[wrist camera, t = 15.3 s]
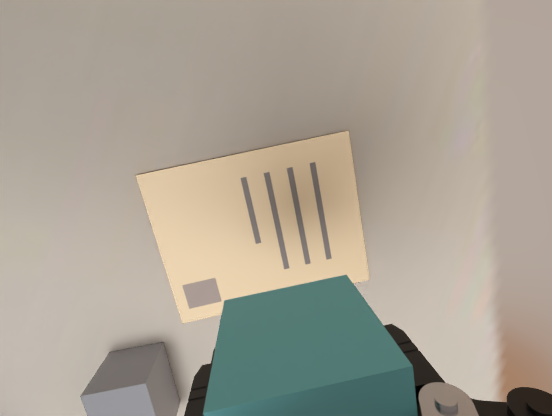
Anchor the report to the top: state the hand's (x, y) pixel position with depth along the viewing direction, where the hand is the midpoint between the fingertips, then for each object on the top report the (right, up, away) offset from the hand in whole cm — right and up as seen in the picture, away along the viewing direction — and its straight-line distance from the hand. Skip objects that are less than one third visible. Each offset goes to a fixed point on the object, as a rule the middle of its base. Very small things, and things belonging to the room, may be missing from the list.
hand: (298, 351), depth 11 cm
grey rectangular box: (-14, -11, +17) cm, 24 cm away
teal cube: (0, 0, +1) cm, 1 cm away
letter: (-2, +4, +14) cm, 15 cm away
